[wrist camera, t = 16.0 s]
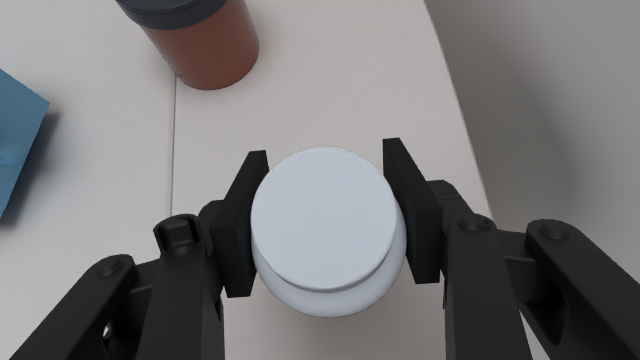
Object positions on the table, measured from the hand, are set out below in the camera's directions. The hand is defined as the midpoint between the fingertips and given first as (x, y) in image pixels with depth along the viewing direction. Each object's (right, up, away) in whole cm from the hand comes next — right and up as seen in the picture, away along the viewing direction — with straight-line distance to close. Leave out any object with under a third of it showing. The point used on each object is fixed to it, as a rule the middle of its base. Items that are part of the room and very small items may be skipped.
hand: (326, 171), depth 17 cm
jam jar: (-10, +12, +17) cm, 23 cm away
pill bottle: (+1, -5, +2) cm, 5 cm away
